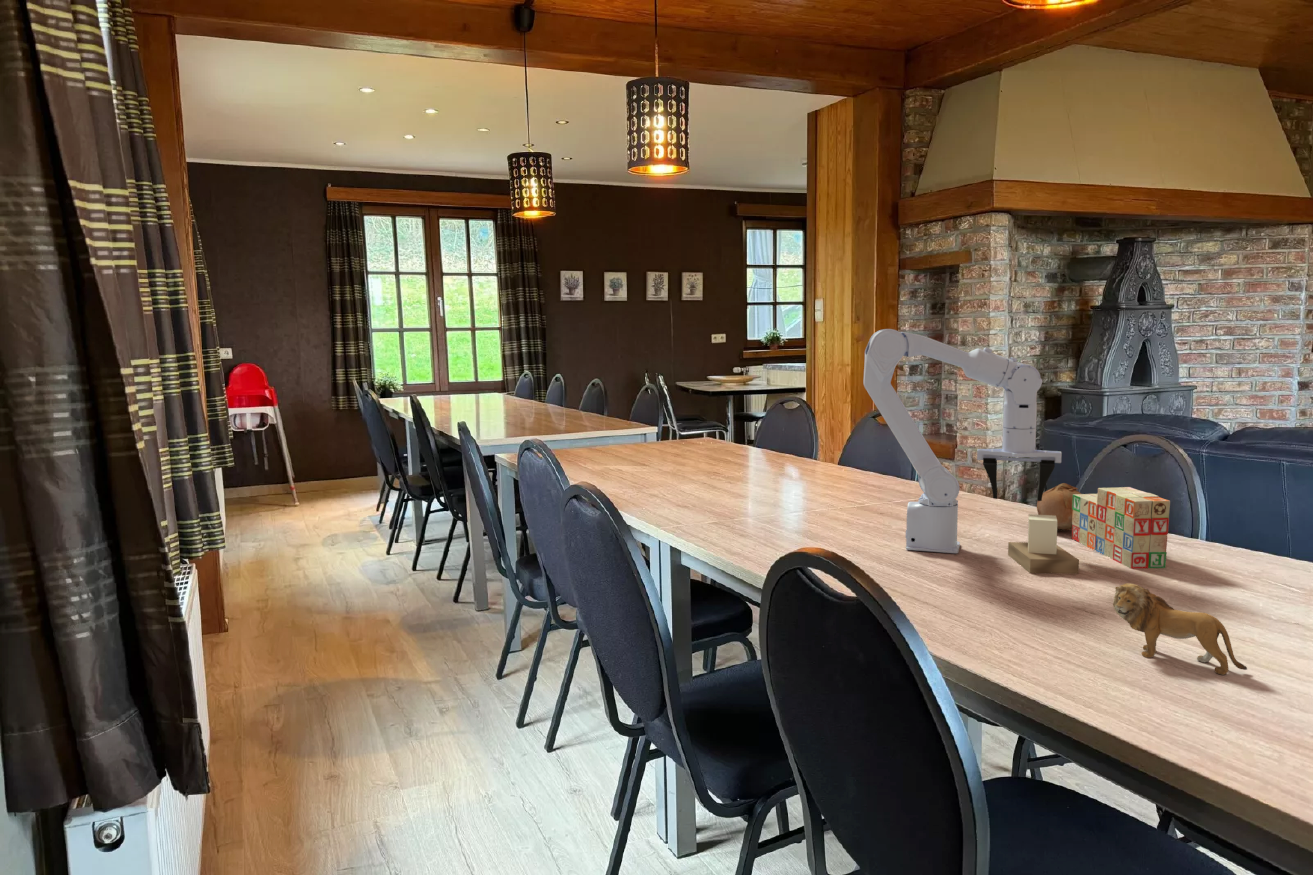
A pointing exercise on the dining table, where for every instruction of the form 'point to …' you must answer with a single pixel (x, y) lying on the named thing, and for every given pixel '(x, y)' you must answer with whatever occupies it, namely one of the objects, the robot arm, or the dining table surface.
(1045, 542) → the cream block
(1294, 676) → the dining table surface
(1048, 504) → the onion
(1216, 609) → the dining table surface
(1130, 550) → the stack of blocks
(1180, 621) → the lion figurine
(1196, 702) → the dining table surface
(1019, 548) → the tan block
